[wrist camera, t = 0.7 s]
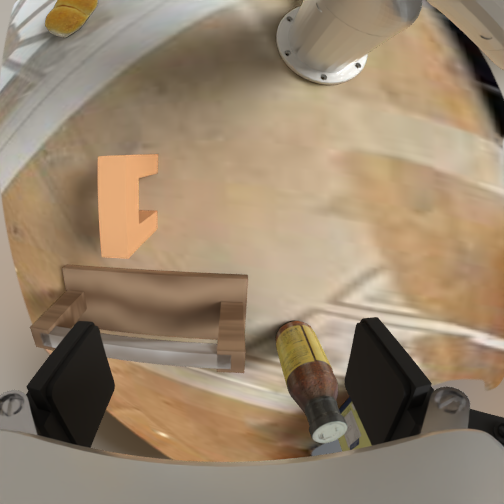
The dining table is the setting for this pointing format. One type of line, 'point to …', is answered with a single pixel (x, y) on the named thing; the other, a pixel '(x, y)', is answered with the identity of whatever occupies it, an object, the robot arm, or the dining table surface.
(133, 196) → the wooden arch block
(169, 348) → the rail stand
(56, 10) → the bread roll
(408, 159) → the dining table surface
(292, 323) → the sauce bottle
